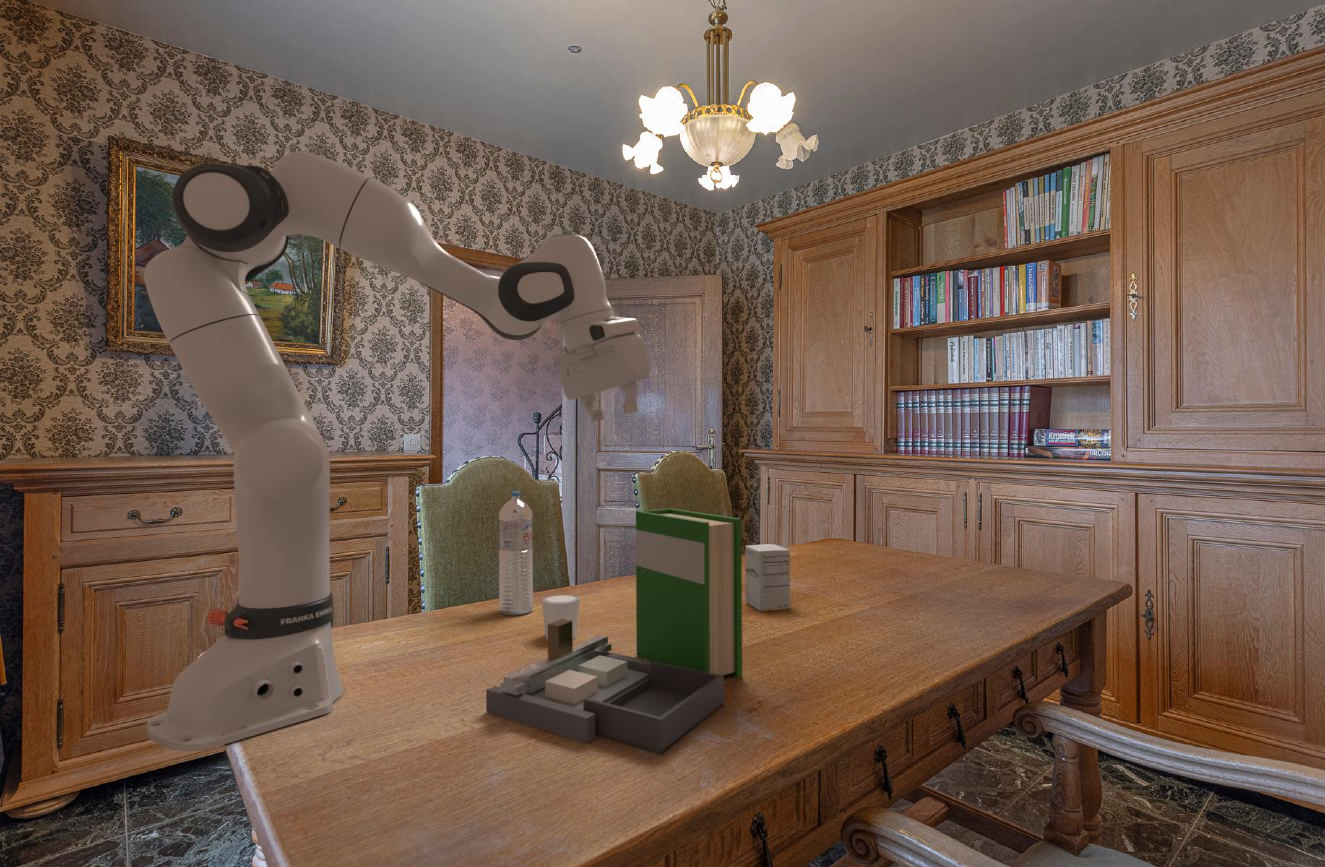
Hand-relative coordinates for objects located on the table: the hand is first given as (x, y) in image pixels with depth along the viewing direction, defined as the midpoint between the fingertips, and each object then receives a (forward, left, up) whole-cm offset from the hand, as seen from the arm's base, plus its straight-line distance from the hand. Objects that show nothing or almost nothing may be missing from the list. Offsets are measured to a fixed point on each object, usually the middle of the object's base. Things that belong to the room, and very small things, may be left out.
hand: (614, 417), depth 108 cm
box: (-15, -17, -40) cm, 46 cm away
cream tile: (-19, -6, -38) cm, 43 cm away
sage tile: (-12, -6, -38) cm, 40 cm away
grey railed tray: (-15, -5, -40) cm, 43 cm away
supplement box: (+44, -8, -40) cm, 60 cm away
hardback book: (+4, -11, -40) cm, 42 cm away
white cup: (+5, +16, -40) cm, 43 cm away
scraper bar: (-15, -1, -37) cm, 40 cm away
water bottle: (+13, +35, -40) cm, 54 cm away
